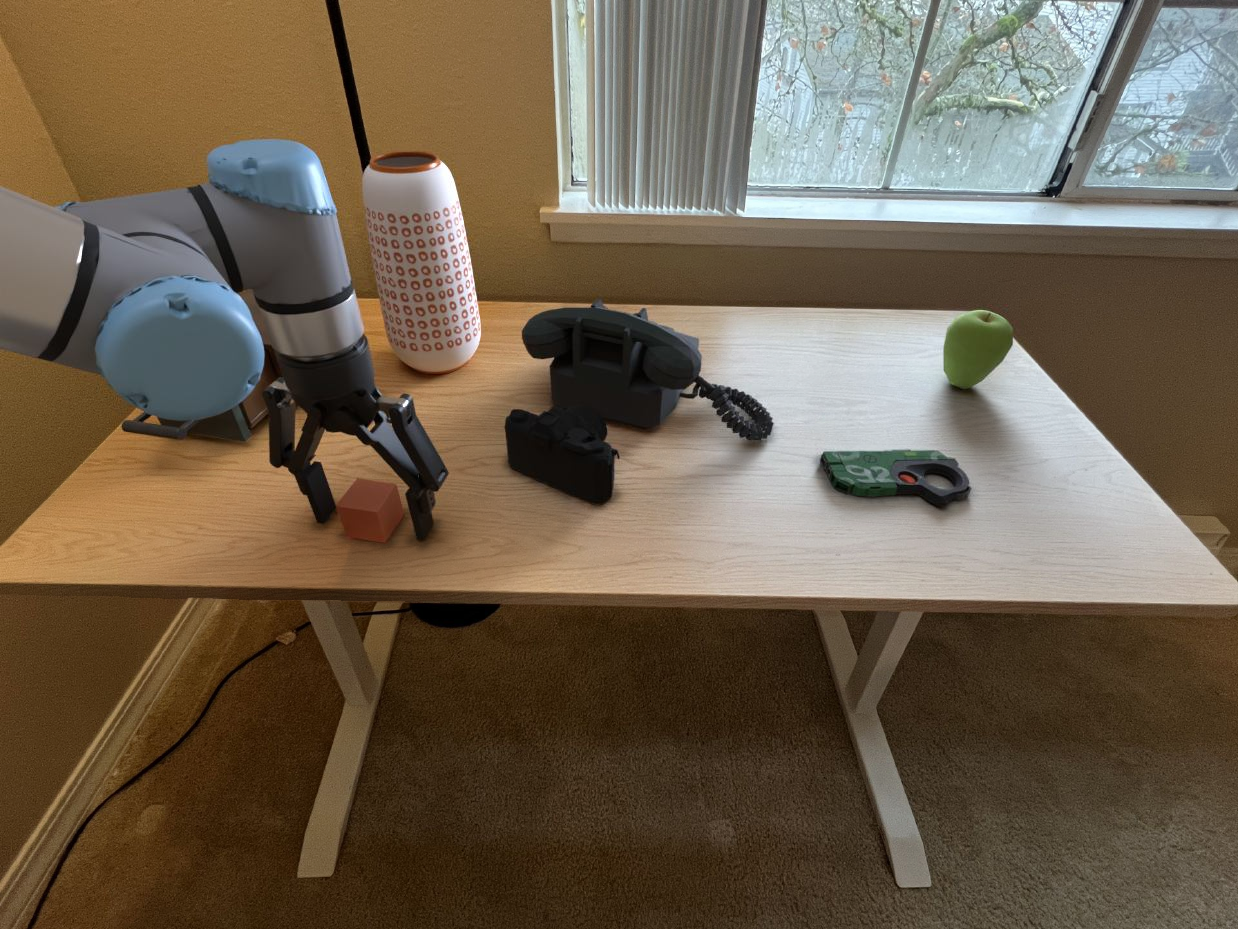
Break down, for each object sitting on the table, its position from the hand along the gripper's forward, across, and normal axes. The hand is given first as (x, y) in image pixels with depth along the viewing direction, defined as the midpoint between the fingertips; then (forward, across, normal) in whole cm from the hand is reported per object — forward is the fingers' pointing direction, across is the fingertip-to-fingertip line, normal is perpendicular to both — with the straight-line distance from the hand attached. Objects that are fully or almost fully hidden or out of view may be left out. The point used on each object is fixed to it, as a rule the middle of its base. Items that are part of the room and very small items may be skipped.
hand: (375, 523), depth 69 cm
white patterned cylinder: (+1, +8, -34) cm, 35 cm away
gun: (0, -57, -20) cm, 60 cm away
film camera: (0, -18, -14) cm, 23 cm away
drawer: (-1, +27, -13) cm, 30 cm away
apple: (+1, -69, -45) cm, 83 cm away
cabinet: (0, +27, -25) cm, 37 cm away
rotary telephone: (+1, -26, -33) cm, 42 cm away
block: (0, 0, 0) cm, 0 cm away
